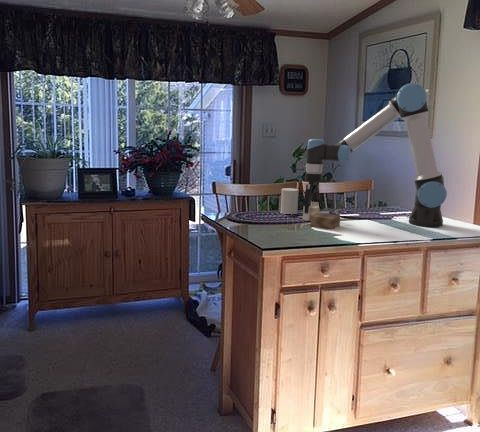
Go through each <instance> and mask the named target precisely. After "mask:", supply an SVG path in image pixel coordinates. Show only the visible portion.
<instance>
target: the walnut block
mask: <svg viewBox="0 0 480 432" xmlns="http://www.w3.org/2000/svg"><path fill="white" fill-rule="evenodd" d="M340 222H341V215H339V214H334V213H333V214H332V213H325V212H319V213H317V214H315V215H312V216H311V220H310V225H309V226H310V227H312V228H316V229H317V228H318V229H324V230H331V231H332V230H334V229H336V228H338V227H340V225H341V224H340Z"/></svg>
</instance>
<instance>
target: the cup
mask: <svg viewBox="0 0 480 432" xmlns="http://www.w3.org/2000/svg"><path fill="white" fill-rule="evenodd" d="M299 190H300V189H297V188H291V187H289V188H288V187H287V188H286V187H285V188H284V187H283V188H281V198H280V214H281V213H283V214H291V215H290V216H293V215H292V214H297V215H298V203H299V192H300V191H299ZM283 214H282V215H283Z"/></svg>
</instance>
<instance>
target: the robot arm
mask: <svg viewBox="0 0 480 432" xmlns="http://www.w3.org/2000/svg"><path fill="white" fill-rule="evenodd" d="M429 111H430V110H429V106H428V100H427V93H426V90H425V88H424V87H423V86H422V85H420V84H419V83H416V82H415V83H414V82H413V83H411V82H410V83H407V84H404V85H403V86H401V87H400V88H399V90H398V92H397V94H396V95H395V96H393V98H392V99H390V100H388V104H387V105H386V106H385V107H383V108H382V109H381V110H379V111H378V112H377V113H375V114H374V115H373V116H371V117H370V118H368V119H367V120H366V121H364V122H363V123H362V124H361V125H359V126H358V127H357V128H356V129H354V130H353V131H352V132H350V133H349V134H347V135H346V136H344V138H342V139H341V140H340V141H338V142H337V143H336V144H329V143H325V140H324V139H319V138H310V139H308V141H307V147H306V160H305V161H306V162H305V165H304V167H305V174H304V175H305V176H304V180H305V181H306V182H307V183H308V184H307V183H306V184H305V185H306V186H305V192H304V197H303V202H302V205H301V206H302V207H304V217H303V216H302V220H303V221H310V220H309V219H310V205H311V206H319V203H320V202H321V198H320V183H321V182H322V177H323V176H322V175H323V174H322V173H323V161H324V162H326V161H330V162H338V163H339V162H340V163H347V162H348V163H349V161H350V157H351V153H353V152H354V151H355V150H356V149H358V148H359V147H360V146H362V145H364V143H366V142H367V141H369V140H370V139H371V138H373V137H375V136H376V135H377V134H378V133H380V132H381V131H382V130H383V129H385V128H387V127H388V126H390V124H392V123H393V122H394V121H396V120H398V119H401V120H403V121H404V122H405V126H406V130H407V136H408V139H409V145H410V149H411V153H412V159H413V163H414V168H415V172H416V176H415V177H414V179H413V180H414V185H415V195H414V196H415V197H414V206H413V208H412V210H411V213H410V215H409V218H408V223H409V224H411V225H413V226H414V225H415V226H417V227H424V226H429V227H428V228H440V227H439V226H441V227H443V225H444V218H443V215H442V211H441V207H442V204H444V202H445V201H446V198H447V194H448V192H447V189H446V187H445V184H444V183H445V181H444V180H445V179H444V176H443V174H442V173H441V171H438V167H437V163H436V158H435V153H434V149H433V144H432V140H431V134H430V129H429V124H428V120H427V115H428V113H429Z"/></svg>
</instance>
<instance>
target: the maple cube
mask: <svg viewBox="0 0 480 432" xmlns="http://www.w3.org/2000/svg"><path fill="white" fill-rule="evenodd" d="M302 207H303V209H302V218H303V217H304V206H302ZM317 213H320V206H319V205H318V206H312V204H310V219H309V221H311V216H312V215H315V214H317Z"/></svg>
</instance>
